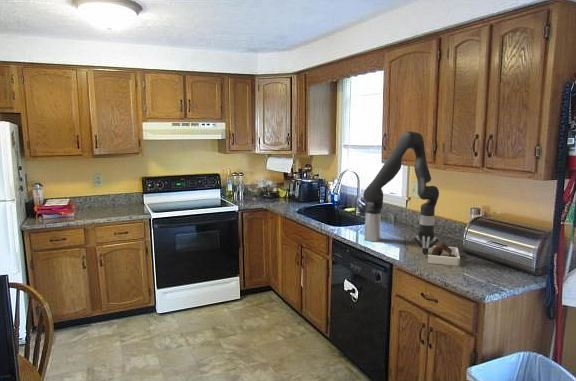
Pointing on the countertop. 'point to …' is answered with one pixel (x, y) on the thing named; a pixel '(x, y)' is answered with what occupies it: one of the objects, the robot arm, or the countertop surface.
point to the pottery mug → (441, 250)
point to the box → (445, 260)
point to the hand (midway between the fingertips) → (425, 254)
